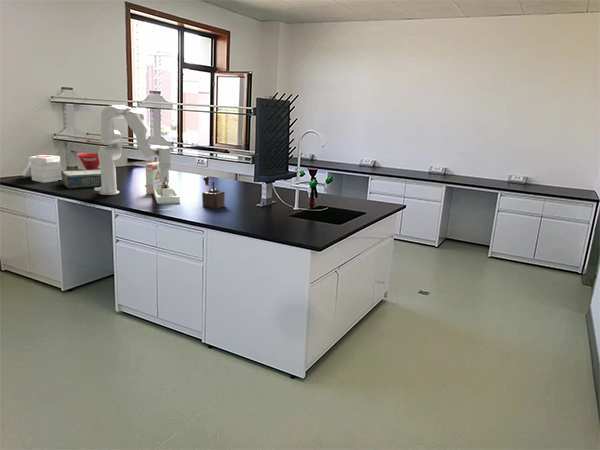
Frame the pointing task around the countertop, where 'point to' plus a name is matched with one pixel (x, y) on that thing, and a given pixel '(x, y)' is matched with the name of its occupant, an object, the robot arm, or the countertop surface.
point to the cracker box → (152, 177)
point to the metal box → (82, 178)
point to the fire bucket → (89, 160)
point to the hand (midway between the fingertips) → (165, 191)
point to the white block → (167, 192)
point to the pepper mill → (213, 197)
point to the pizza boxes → (44, 168)
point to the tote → (166, 199)
